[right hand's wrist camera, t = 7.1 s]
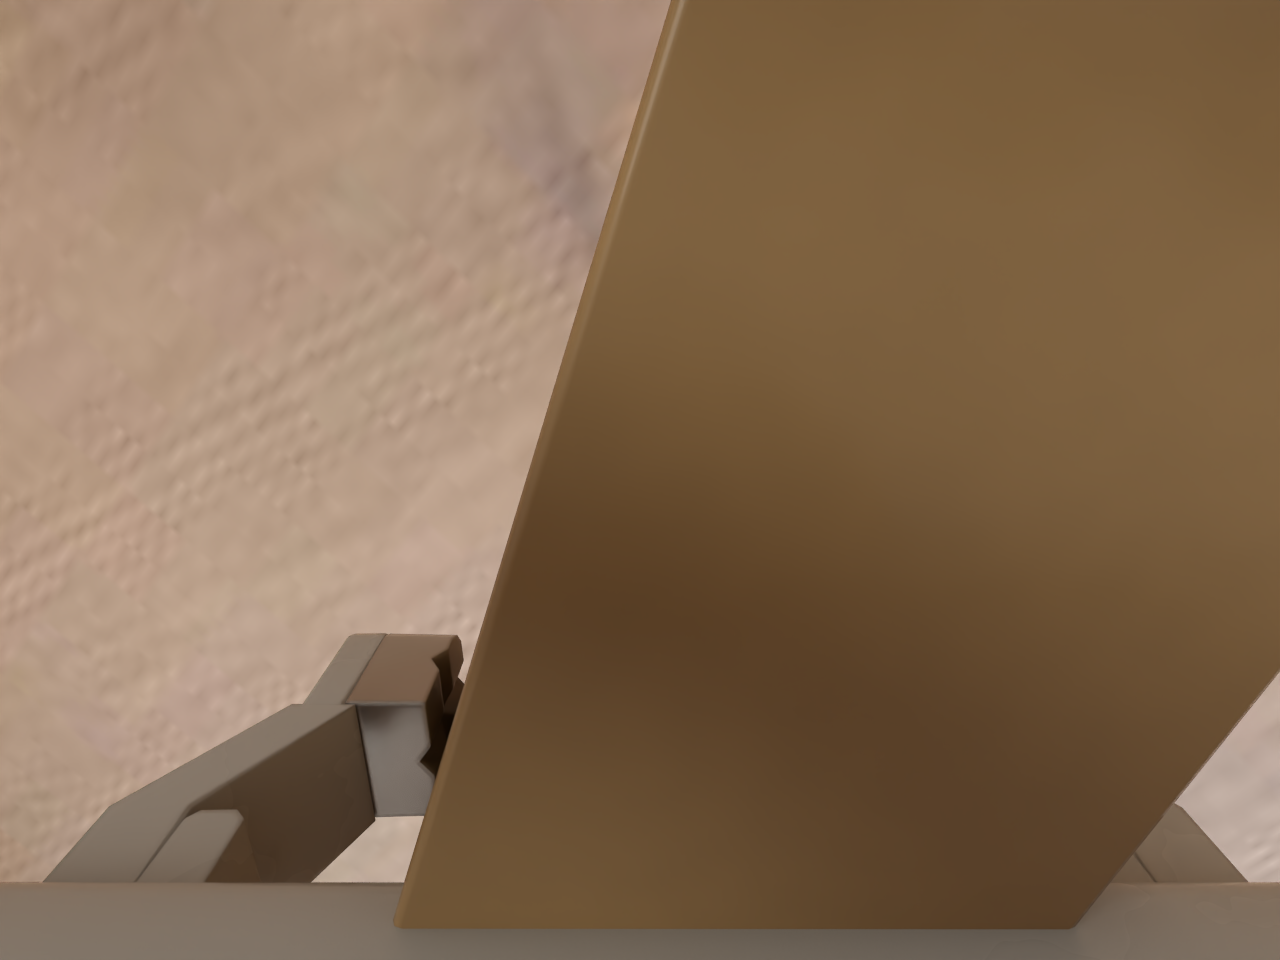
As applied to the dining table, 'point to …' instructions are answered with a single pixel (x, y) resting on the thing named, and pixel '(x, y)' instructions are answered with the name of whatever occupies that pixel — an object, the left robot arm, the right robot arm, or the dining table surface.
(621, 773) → the bar
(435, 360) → the dining table surface
